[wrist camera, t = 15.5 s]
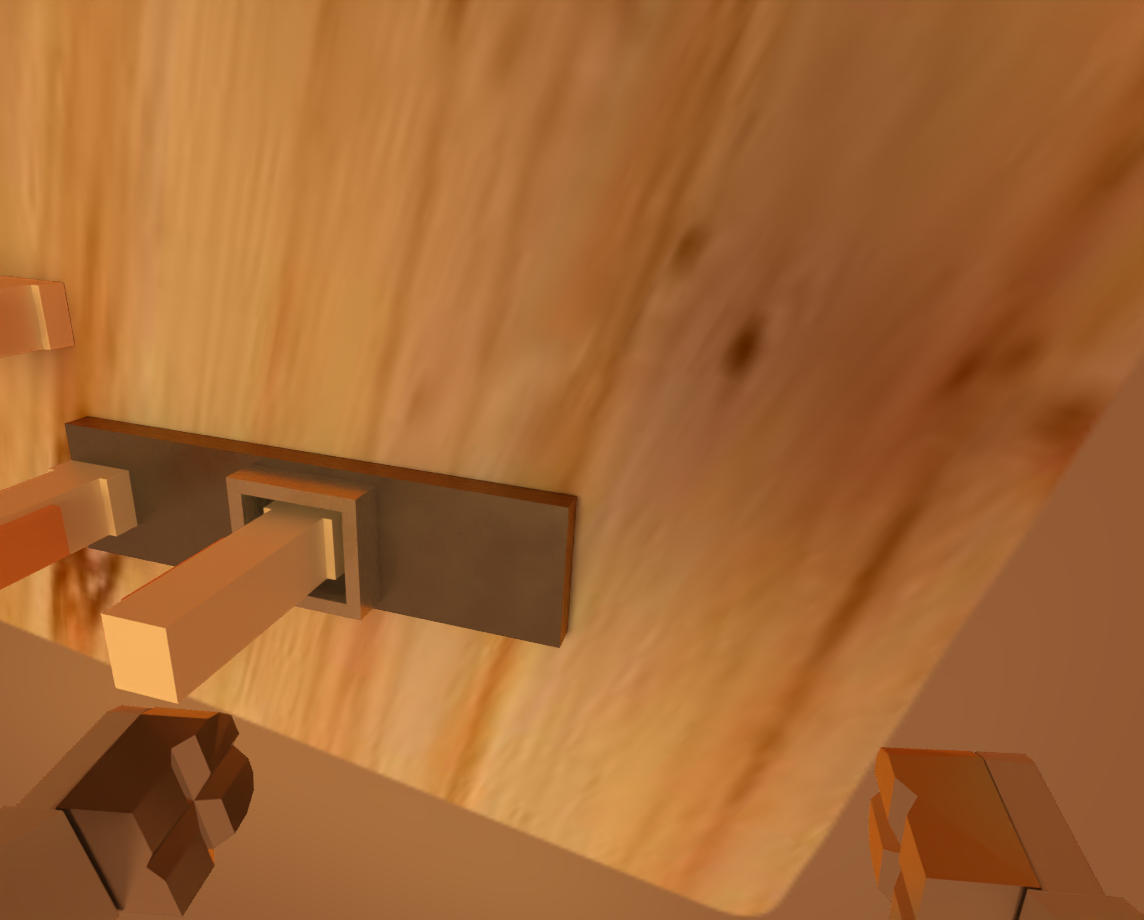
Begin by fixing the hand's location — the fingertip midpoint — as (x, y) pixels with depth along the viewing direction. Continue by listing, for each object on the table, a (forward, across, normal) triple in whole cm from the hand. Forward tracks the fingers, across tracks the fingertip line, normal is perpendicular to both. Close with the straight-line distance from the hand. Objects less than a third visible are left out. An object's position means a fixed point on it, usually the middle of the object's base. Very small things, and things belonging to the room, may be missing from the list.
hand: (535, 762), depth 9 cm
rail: (+27, +19, +12) cm, 35 cm away
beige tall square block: (+25, +18, +12) cm, 33 cm away
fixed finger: (+27, +32, +10) cm, 43 cm away
